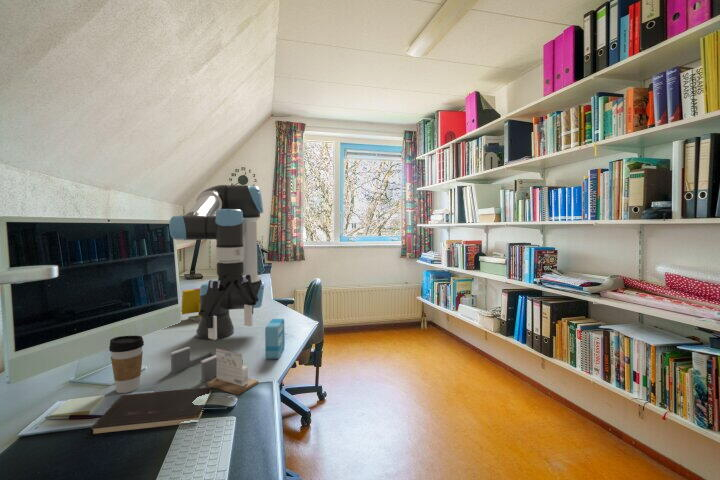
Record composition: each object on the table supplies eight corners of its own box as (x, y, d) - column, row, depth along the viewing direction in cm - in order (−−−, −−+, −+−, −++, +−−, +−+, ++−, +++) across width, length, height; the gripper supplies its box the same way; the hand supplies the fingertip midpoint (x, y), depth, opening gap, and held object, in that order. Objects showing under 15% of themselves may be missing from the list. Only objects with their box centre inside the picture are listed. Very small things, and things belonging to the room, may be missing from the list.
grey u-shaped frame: (170, 372, 114) (170, 352, 113) (210, 356, 127) (210, 338, 127) (204, 382, 106) (203, 361, 106) (243, 364, 120) (242, 345, 120)
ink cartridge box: (222, 376, 109) (221, 345, 108) (248, 383, 104) (248, 351, 103) (215, 379, 107) (215, 347, 106) (242, 387, 101) (242, 354, 101)
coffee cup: (114, 384, 105) (112, 335, 104) (147, 379, 108) (145, 332, 107) (107, 397, 97) (105, 344, 96) (142, 392, 100) (140, 340, 100)
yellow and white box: (221, 313, 188) (221, 284, 188) (226, 316, 182) (226, 286, 181) (181, 319, 176) (180, 288, 175) (185, 323, 169) (184, 290, 169)
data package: (278, 360, 124) (277, 327, 123) (265, 360, 123) (264, 327, 123) (284, 348, 135) (284, 317, 135) (273, 348, 135) (272, 317, 135)
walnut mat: (206, 385, 105) (206, 382, 105) (227, 374, 112) (227, 372, 112) (237, 394, 99) (237, 392, 99) (258, 383, 106) (258, 380, 106)
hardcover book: (198, 425, 85) (198, 416, 85) (91, 437, 80) (90, 427, 80) (212, 393, 100) (212, 385, 100) (122, 402, 96) (122, 394, 96)
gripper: (202, 267, 91) (204, 347, 92) (269, 257, 113) (269, 322, 114) (183, 265, 94) (185, 342, 95) (251, 256, 116) (252, 319, 117)
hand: (231, 331), depth 105 cm, fingers open, 13 cm apart
